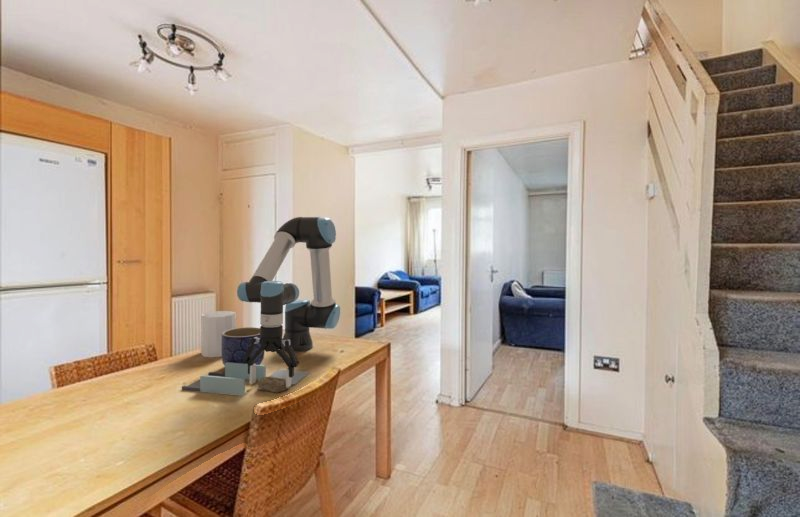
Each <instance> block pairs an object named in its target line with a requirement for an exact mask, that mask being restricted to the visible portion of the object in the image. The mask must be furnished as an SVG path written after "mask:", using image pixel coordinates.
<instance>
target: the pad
mask: <svg viewBox="0 0 800 517" xmlns="http://www.w3.org/2000/svg"><path fill="white" fill-rule="evenodd" d="M309 373H310V372H309V371H302V370H294V376H293V377H292V379H291V385H290V386H292V387H293V386H297V385H298V383H300V382H301V381H302V380H303V379H304V378H306V377H307V375H309ZM269 376H273V377H277V378H279V379H285V380H286V369H278V368H277V369H276V370H275V371H274V372H273V373H271V374H269V375H268V376H267V377H269Z"/></svg>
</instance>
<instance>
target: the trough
mask: <svg viewBox="0 0 800 517" xmlns="http://www.w3.org/2000/svg"><path fill="white" fill-rule="evenodd" d="M266 373H267V365H264V364H260V365H256V381H259V380H260V379H261V378H262V377H267V376H266V375H267V374H266ZM246 380H250V374H248V365H247V364H242V363H230V362H226V363H225V366H224V372H218V371H209V372H208V374H207V375H206V374H201V375H200V376H199V379H198V380H196V381H194V382H192V383H190V384H188V385H182V386H181V391H187V392H189V391H190V392H197V393H198V392H200V393H209V394H220V395H232V396H240V397H241V396H242V397H244V396H245V395H246V393H245V392H246Z"/></svg>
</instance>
